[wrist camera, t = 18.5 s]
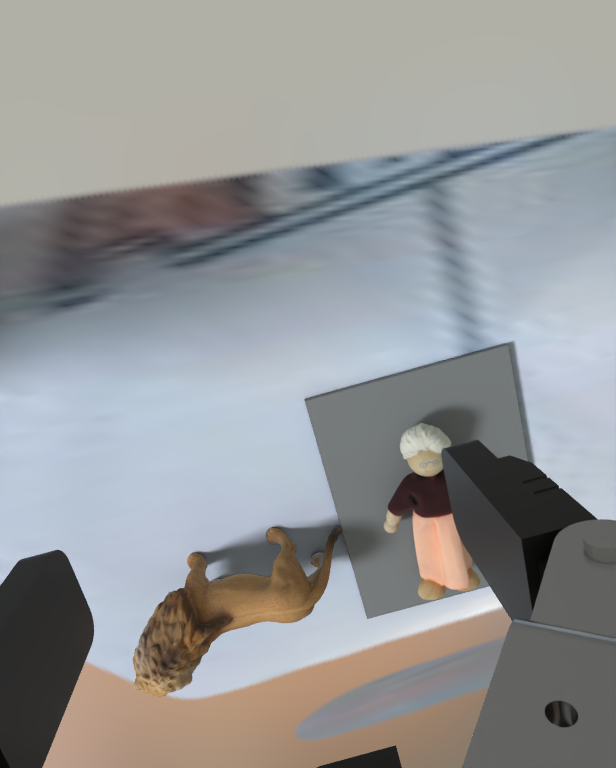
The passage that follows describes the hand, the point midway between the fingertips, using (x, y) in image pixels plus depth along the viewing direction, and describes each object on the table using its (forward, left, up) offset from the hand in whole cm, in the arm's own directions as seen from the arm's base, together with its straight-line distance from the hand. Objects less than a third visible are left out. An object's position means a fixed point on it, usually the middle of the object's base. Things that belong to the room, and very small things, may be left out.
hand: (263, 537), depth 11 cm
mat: (+8, -14, -26) cm, 30 cm away
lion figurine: (-7, -17, -26) cm, 32 cm away
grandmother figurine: (+8, -21, -24) cm, 33 cm away
